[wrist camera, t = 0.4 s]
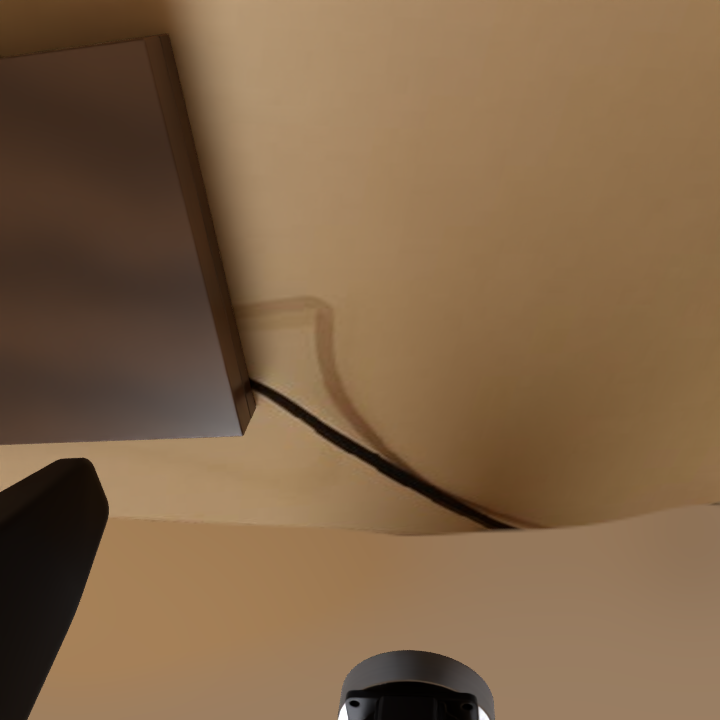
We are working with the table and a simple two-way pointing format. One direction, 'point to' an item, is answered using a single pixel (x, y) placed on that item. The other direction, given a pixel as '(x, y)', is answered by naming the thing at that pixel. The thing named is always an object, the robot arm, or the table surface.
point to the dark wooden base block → (109, 256)
